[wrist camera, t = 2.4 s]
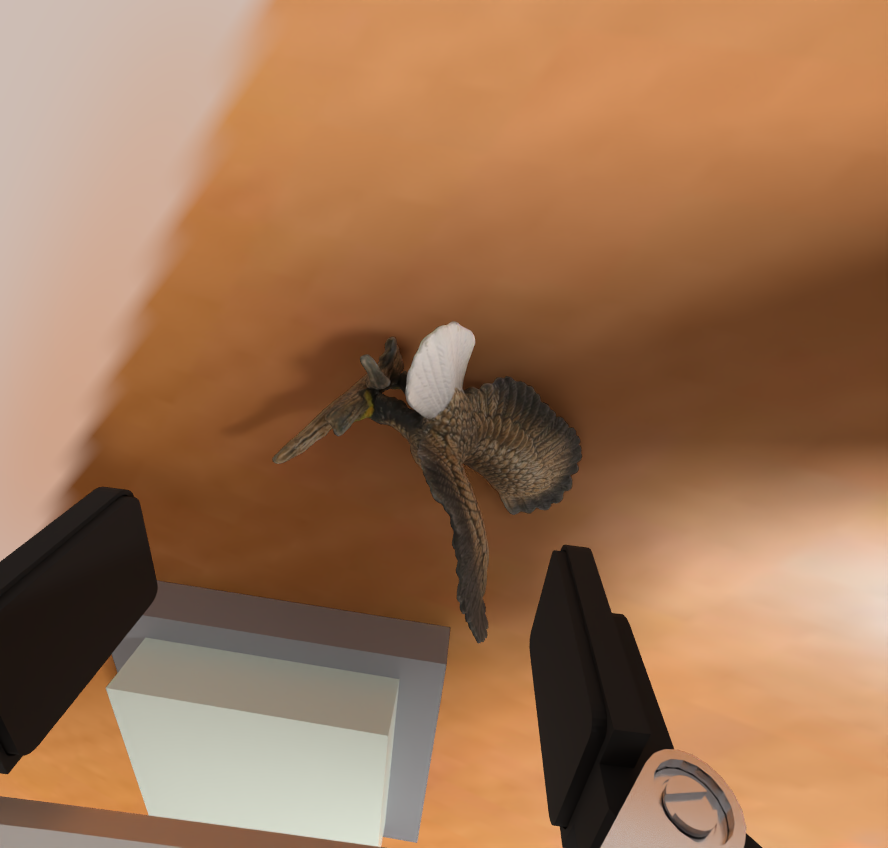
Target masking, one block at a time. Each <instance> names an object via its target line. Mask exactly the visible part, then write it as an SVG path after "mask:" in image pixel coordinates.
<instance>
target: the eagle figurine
mask: <svg viewBox="0 0 888 848" xmlns="http://www.w3.org/2000/svg"><path fill="white" fill-rule="evenodd" d="M474 345H475V336H474V335H473V333H472V332H471V331H470V330H469V329H466V328H465V327H462V326H461V325H459V323H457V322H455V321H453V322H450V323H449V324H447V325H442V326H439V327H438V328H436V329H435V330H434V331H433V332H432V333H430V334H428V335H427V336H426V337H425V338H424V339H423V340H422V341H421V343H420V346H419V349H418V351H417V353H416V354H415V356H414V358H413V362H412V365H411V367H410V369H409V370H408V372H407V371H404V372H402V371H403V369H404V363H403V360H402V356H401V354H400V353H399V350H400V349H399V347H398V346H397V342H396V338H395V337H390V338H388V339H387V341H386V343H385V352H384V353H383V354H382V355H381V356H380V357H379V362H378V364H377V363H376V362H375V360H374V359H373V358H372V357H371V356H369V355H368V354H366V355H363V356H361V357H360V362H361V364H362V366H363V367H364V368H365V370H366V371H367V374H366V375H365V376H364V377H362V378H361V379H360V380H359V381H358V382H357V383H356V384H354V385H353V386H352V387H351V388H350V389H349V390H348V391H347V392H345V393H344V394H343V395H341V396H340V397H338V398H337V399H336V400H335V401H333V402H332V403H331V404H330V405H329V406H327V407H326V408H325V409H324V410H323V411H322V412H321V413H320V414H319V415H318V416H317V417H315V418H314V419H313V420H312V421H311V422H310V423H309V425H308V426H307V427H305V428H304V429H303V430H302V431H301V432H300V433H299V434H298V435H297V436H296V437H294V438H293V439H292V440H290V441H289V442H288V443H287V444H286V445H285V446H284V447H283V448H282V449H281V450H280V451H279V452H278V453H277V454H276V455H275V456H274V457H273V459H272V460H273V462H274V463H278V464H281V463H284V462H286V461H288V460H290V459H291V458H293V457H295V456H297V455H299V454H301V453H303V452H304V451H305V450H307V449H308V448H309V447H310V446H311V445H313V444H314V443H315V442H316V441H317V440H319V439H321V438H322V437H324V436H326V435H327V433H328V432H329V431H330V430H331V429H332V428H333V431H334V434H335V435H337V436H341V435H342V434H344V433H345V431H346V430H347V429H349V428H350V426H351V425H352V423H353V422H355V421H360V420H362V419H364V418H371V419H372V420H374V421H375V422H377V423H379V424H385V425H390V426H392V427H393V428H395V429H396V430H397V431H399V432H400V433H401V434H402V435H403V437H404V438H406V439H407V440H408V442H409V444H410V449H411V453H412V456H413V458H414V460H415V462H416V463H417V464H418V465H419V466H420V467H421V468H422V470H423V474H424V476H425V478H426V482H427V484H428V485H429V487H430V491H431V493H432V496H433V498H434V500H436V501H437V502H438V503H441V504H442V505H443V507H444V510H445V511H446V512H447V513H448V514H449V515H450V524H451V527H452V529H453V531H454V535H453V540H452V546H453V548H454V549H455V555H456V558H457V560H458V562H457V568H456V573H457V575H458V577H459V584H458V588H457V600H458V601H459V602H460V610H461V612H462V614H465V620H466V622H468V625H469V628H470V630H471V631H472V633H473V635H474V637H475V639H476V641H477V643H481V642H484V640H485V638H487V630H486V629H488V620H487V617H486V614H485V612H486V607H485V603H484V601H483V596H484V593H485V589H486V582H487V567H488V560H489V548H488V542H487V536H486V531H485V524H484V522H483V518H482V513H481V511H480V509H479V506H478V503H477V500H476V498H475V495H474V493H473V488H472V486H471V484H470V482H469V480H468V478H467V476H466V474H465V470H464V467H463V465H462V464H465V465H467V466H469V467H470V468H472V469H473V470H475V471H476V472H478V473H480V474H481V475H482V476H483V477H484V478H485V479H486V480H487V481H488V482H489V483H490V484H491V485H492V486H493V487H494V488H495V489H496V490H497V491H498V492H499V495H500V497H501V500H502V501H503V503H504V505H505V508H506V509H507V510H508V511H509V513H511V514H513V515H515V514H517V513H519V512H520V511H522V512H526V513H532V512H533V511H534V510H535V509H536V508H539V509H541V510H548V509H549V508H550V506H551V504H552V503H559V502H561V500H562V499H563V493H564V491H568V490H570V489H571V488H572V479H571V476H570V475H571V474H575V473H577V471H578V469H579V467H578V466H577V462H579V461H580V460H581V458H582V454H581V446H580V445H579V443H580V438H579V437H578V436H577V435H576V431H575V429H574V428H569V425H568V424H567V423H566V422H565V421H564V419H563V418H561V417H556V413H555V412H554V411H553V410H551V409H550V407H549V406H548V405H547V404H546V403H542V402H541V399H540V395H539V394H538V393H536V392H535V390H534V388H533V387H532V386H528V385H526V384H525V383H524V382H521V381H515V380H514V379H513V378H511V377H508V376H506V377H505V378H501V377H498V378H496V379H495V381H494V382H493V383H492V384H491V383H485V384H483V385H482V386H481V388H480V389H477V388H475V387H470V388H468V389H466V390H463V388H462V387H463V381H464V375H465V372H466V369H467V364H468V362H469V359H470V356H471V353H472V351H473V348H474ZM401 372H402V373H401ZM388 389H401V390H402V391H403V392H404V394H405V395H406V400H407V402H408V404H409V405H410V407H411V408H413V409H414V410H412V409H409V408H408V407H407V405H406V404H405V403H404V402H403V401H401V400H397V399H396V398H395V397H387V396H386V395H384V394H382V392H384V391H385V390H388Z"/></svg>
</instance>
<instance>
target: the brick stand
mask: <svg viewBox="0 0 888 848" xmlns="http://www.w3.org/2000/svg"><path fill="white" fill-rule="evenodd" d="M157 584H158V590H157V594H156V597H155V599H154V601H153V603H152V604H151V605H150V606H149V608H148V609H147V610H146V611H145V613H144V614H143V615H142V616H141V618H140V619H139V620H138V621H137V623H136V624H135V625H134V626H133V628H132V629H131V630H130V631H129V633H128V634H127V635H126V636H125V638H124V639H123V640H122V641H121V643H120V644H119V645H118V646H117V648H116V649H115V650H114V651H113V653H112V657H113V660H114V663H115V666H116V669H117V672H118V673H117V674H116V676H115V677H114V678H113V679H112V681H111V682H110V683H109V684H108V686H107V687H106V690H107V693H108V696H109V699H110V702H111V705H112V708H113V711H114V714H115V717H116V720H117V723H118V726H119V728H120V731H121V734H122V737H123V740H124V743H125V746H126V749H127V752H128V755H129V758H130V761H131V764H132V767H133V770H134V773H135V776H136V779H137V782H138V785H139V788H140V790H141V793H142V796H143V799H144V802H145V805H146V808H147V811H148V814H149V816H157V817H164V818H172V819H179V820H187V821H194V822H202V823H209V824H217V825H224V826H232V827H239V828H247V829H254V830H262V831H269V832H277V833H284V834H291V835H298V836H305V837H313V838H320V839H327V840H334V841H342V842H349V843H356V844H363V845H370V846H378V847H381V844H382V838H383V837H388V838H393V839H399V840H404V841H410V842H416V843H417V840H418V834H419V828H420V822H421V816H422V810H423V804H424V798H425V792H426V785H427V779H428V773H429V767H430V761H431V755H432V749H433V743H434V737H435V731H436V725H437V719H438V713H439V707H440V701H441V695H442V689H443V683H444V676H445V670H446V664H447V655H448V645H449V636H450V627H445V626H439V625H433V624H426V623H420V622H414V621H407V620H401V619H395V618H389V617H382V616H376V615H370V614H364V613H357V612H351V611H345V610H339V609H332V608H326V607H320V606H314V605H307V604H301V603H295V602H289V601H282V600H276V599H270V598H263V597H257V596H251V595H245V594H238V593H232V592H226V591H220V590H213V589H207V588H201V587H195V586H188V585H182V584H176V583H170V582H163V581H157Z"/></svg>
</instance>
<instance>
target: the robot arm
mask: <svg viewBox="0 0 888 848" xmlns="http://www.w3.org/2000/svg"><path fill="white" fill-rule="evenodd" d="M157 590H158V584H157V580H156V575H155V570H154V566H153V561H152V557H151V552H150V547H149V543H148V538H147V534H146V529H145V524H144V520H143V515H142V511H141V506H140V502H139V500H138V499H137V498H135V497H134V496H133V493H132V492H131V491H129V490H125V489H117V488H109V487H99V488H97V489H95V490H93V491H92V492H91V493H90V494H88V495H87V496H86V497H84V498H83V499H82V500H80V501H79V502H78V503H76V504H75V505H74V506H73V507H71V508H70V509H69V510H67V511H66V512H65V513H63V514H62V515H61V516H59V517H58V518H57V519H56V520H54V521H53V522H52V523H50V524H49V525H48V526H46V527H45V528H44V529H42V530H41V531H40V532H39V533H37V534H36V535H35V536H33V537H32V538H31V539H29V540H28V541H27V542H25V543H24V544H23V545H22V546H20V547H19V548H18V549H16V550H15V551H14V552H13V553H11V554H10V555H8V556H7V557H6V558H5V559H3V560H2V561H1V562H0V773H2V774H8V773H9V772H10V771H11V770H12V769H13V767H14V766H15V765H16V764H17V762H18V761H19V760H20V759H21V757H22V756H23V755H27V754H29V753H31V752H32V751H33V750H35V748H36V747H37V746H38V745H39V744H40V743H41V742H42V740H43V739H44V738H45V737H46V735H47V734H48V733H49V732H50V730H51V729H52V728H53V727H54V725H55V724H56V723H57V722H58V720H59V719H60V718H61V717H62V715H63V714H64V713H65V712H66V710H67V709H68V708H69V707H70V705H71V704H72V703H73V702H74V700H75V699H76V698H77V697H78V695H79V694H80V693H81V692H82V690H83V689H84V688H85V687H86V685H87V684H88V683H89V682H90V680H91V679H92V678H93V677H94V675H95V674H96V673H97V672H98V670H99V669H100V668H101V667H102V665H103V664H104V663H105V661H106V660H107V659H108V658H109V656H110V655H111V654H112V653H113V651H114V650H115V649H116V648H117V646H118V645H119V644H120V643H121V641H122V640H123V639H124V638H125V636H126V635H127V634H128V633H129V631H130V630H131V629H132V628H133V626H134V625H135V624H136V623H137V621H138V620H139V619H140V618H141V616H142V615H143V614H144V613H145V611H146V610H147V609H148V608H149V606H150V605H151V604H152V603H153V601H154V599H155V597H156V594H157ZM530 657H531V665H532V674H533V683H534V691H535V700H536V708H537V717H538V725H539V734H540V742H541V751H542V760H543V768H544V777H545V785H546V794H547V802H548V811H549V818H550V821H551V824H552V825H554V826H560V831H561V839H562V846H563V848H762V847H761V846H760V845H759V844H758V843H756V842H755V841H754V840H753V839H752V838H751V837H750V836H749V835H747V834H746V824H745V819H744V815H743V811H742V809H741V807H740V805H739V803H738V801H737V799H736V797H735V795H734V793H733V791H732V790H731V789H730V787H729V786H728V785H727V783H726V782H725V781H724V779H723V778H722V777H721V776H720V775H719V774H718V773H717V772H716V771H715V770H713V769H712V768H711V767H710V766H709V765H708V764H707V763H705V762H703V761H702V760H700V759H699V758H697V757H695V756H694V755H692V754H689V753H686V752H683V751H680V750H674V747H673V744H672V742H671V739H670V736H669V733H668V730H667V728H666V725H665V722H664V719H663V716H662V714H661V711H660V708H659V705H658V703H657V700H656V697H655V694H654V691H653V689H652V686H651V683H650V680H649V677H648V675H647V672H646V669H645V666H644V663H643V661H642V658H641V655H640V652H639V649H638V647H637V644H636V641H635V638H634V635H633V633H632V630H631V627H630V624H629V622H628V620H627V618H626V617H625V616H624V615H623V614H615V613H611V609H610V606H609V603H608V600H607V597H606V594H605V591H604V588H603V585H602V582H601V579H600V576H599V572H598V569H597V566H596V563H595V560H594V557H593V554H592V551H591V549H589V548H586V547H578V546H570V545H563V546H562V548H561V551H557V550H554V551H553V553H552V556H551V559H550V563H549V567H548V571H547V574H546V578H545V582H544V586H543V589H542V593H541V597H540V601H539V604H538V608H537V612H536V616H535V619H534V623H533V627H532V630H531V635H530ZM0 848H385V847H378V846H370V845H363V844H356V843H349V842H342V841H334V840H327V839H320V838H313V837H305V836H298V835H291V834H284V833H277V832H269V831H262V830H254V829H247V828H239V827H232V826H224V825H217V824H209V823H202V822H194V821H187V820H179V819H172V818H164V817H157V816H149V815H142V814H134V813H126V812H119V811H111V810H104V809H96V808H88V807H80V806H72V805H64V804H56V803H49V802H41V801H33V800H25V799H17V798H9V797H1V796H0Z"/></svg>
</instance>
